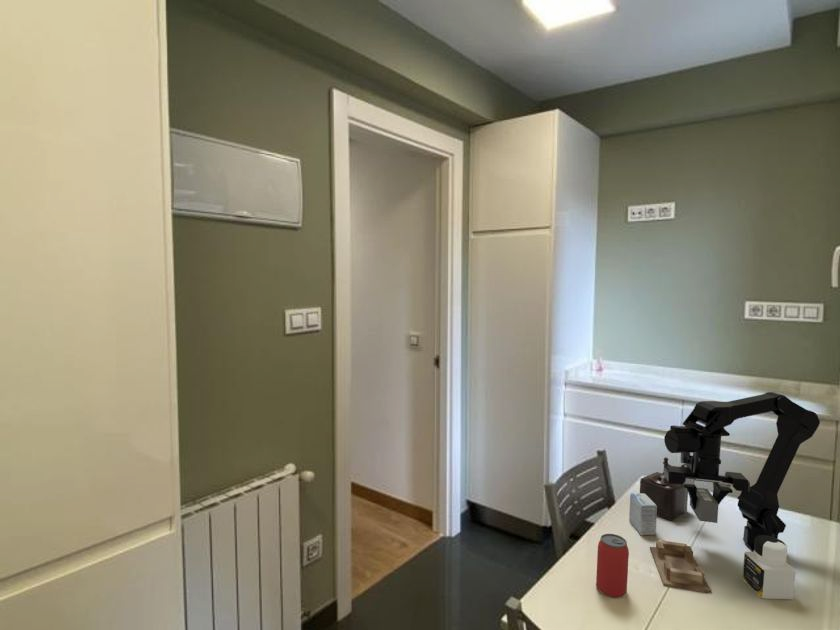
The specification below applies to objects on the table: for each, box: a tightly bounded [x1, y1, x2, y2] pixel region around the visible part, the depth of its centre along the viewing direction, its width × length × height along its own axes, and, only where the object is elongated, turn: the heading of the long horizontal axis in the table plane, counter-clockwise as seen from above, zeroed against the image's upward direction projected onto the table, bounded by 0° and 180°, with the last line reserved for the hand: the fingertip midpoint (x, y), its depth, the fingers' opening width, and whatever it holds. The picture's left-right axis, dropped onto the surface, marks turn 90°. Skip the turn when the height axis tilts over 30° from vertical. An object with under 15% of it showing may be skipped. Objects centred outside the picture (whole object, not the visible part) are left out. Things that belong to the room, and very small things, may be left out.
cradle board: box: [649, 539, 712, 594], centre depth 121 cm, size 10×16×3 cm, turn 166°
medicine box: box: [628, 492, 657, 536], centre depth 141 cm, size 8×4×9 cm, turn 179°
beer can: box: [595, 533, 630, 599], centre depth 113 cm, size 7×7×12 cm
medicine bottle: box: [742, 535, 797, 600], centre depth 114 cm, size 7×7×12 cm
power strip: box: [689, 487, 720, 524], centre depth 129 cm, size 4×9×5 cm, turn 166°
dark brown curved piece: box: [639, 456, 693, 521], centre depth 149 cm, size 16×11×18 cm
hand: (703, 509), depth 129 cm, fingers closed on power strip, 4 cm apart
